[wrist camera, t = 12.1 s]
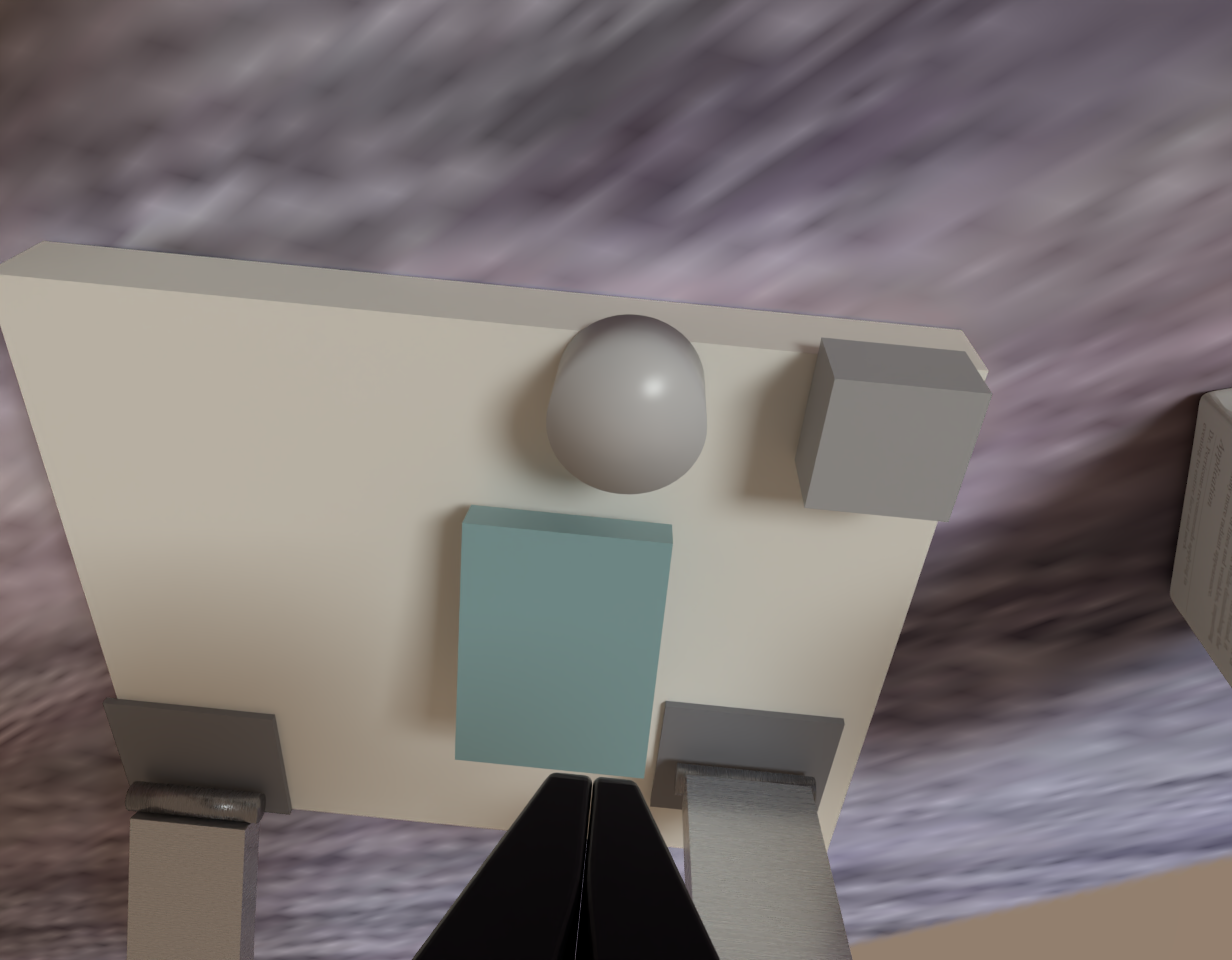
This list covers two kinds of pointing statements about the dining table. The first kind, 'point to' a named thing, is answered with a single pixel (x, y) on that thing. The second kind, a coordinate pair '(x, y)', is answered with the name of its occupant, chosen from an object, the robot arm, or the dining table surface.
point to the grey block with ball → (192, 872)
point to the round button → (628, 405)
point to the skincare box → (1208, 533)
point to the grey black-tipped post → (759, 865)
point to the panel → (423, 525)
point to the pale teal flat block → (559, 639)
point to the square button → (889, 429)
